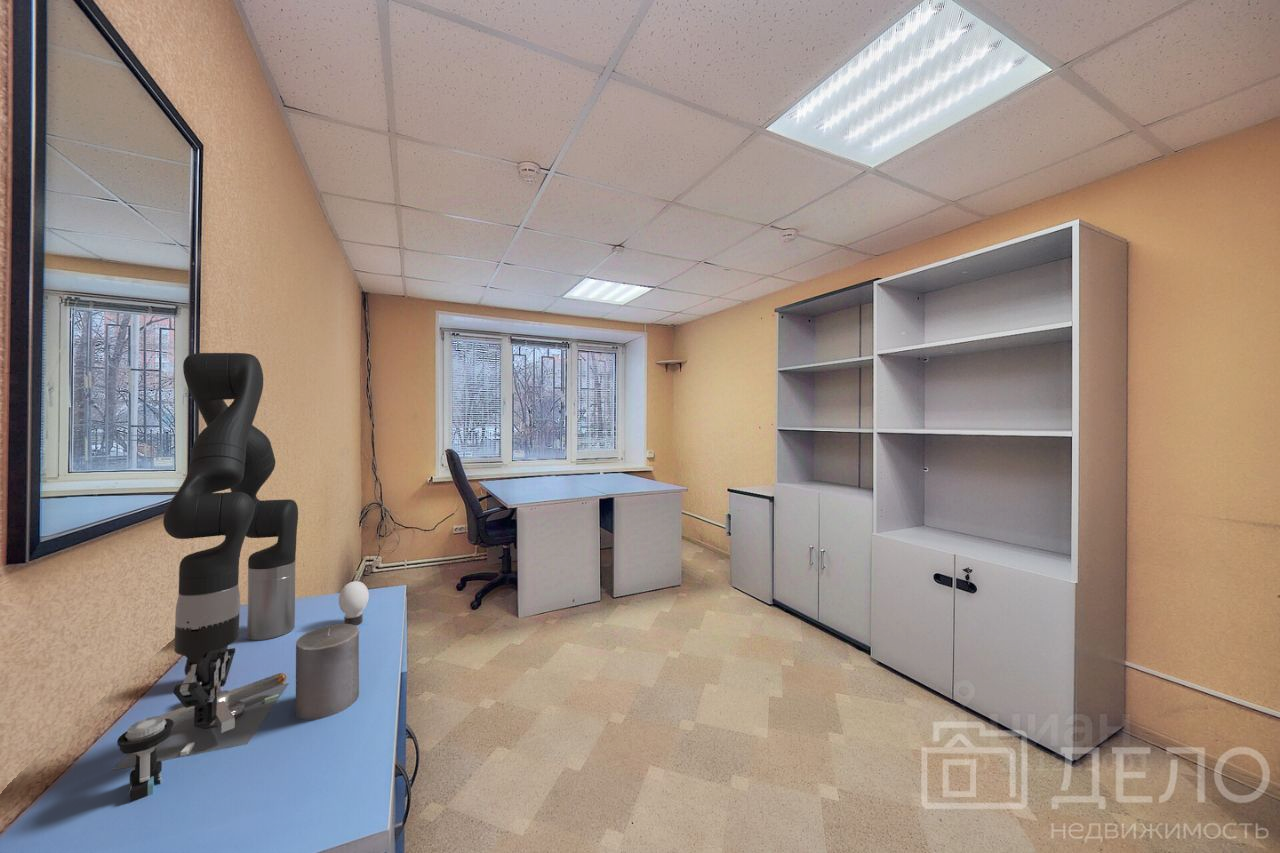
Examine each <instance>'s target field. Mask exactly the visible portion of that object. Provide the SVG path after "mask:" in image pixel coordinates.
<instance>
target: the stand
mask: <svg viewBox="0 0 1280 853" xmlns="http://www.w3.org/2000/svg"><path fill="white" fill-rule="evenodd" d="M289 684H290V682H288V683H287V682H286V683H283V684H282V685H280V686H277V687H274V688H271V689H269V690H266V691H263V692H261V693H258V694H255V695H253V696H250V697H247V698H245V699H242V700H239V701H241V702H244V704H245V711H244V713H243V714H242V715H241V716H240V717H239V718H237V719H236V720H235V728H233V729H230V730H228V731H225V732H223V733H221V732H220V730H219V728H218V727H215V728H210V729H202V728H199V727H195V726H194V717H193V718H191V719H188V720H185V721H183V722H180V723H177V724H175V725H173V727H172V728H171V734H170V736H169V737H168V738H167V739H165V740H164V741H163V742H162V743H161V744H159V745H157V746H156V747H155V748H156V755H157V762H158V761H161V762H163V761H167V760H172V759H177V758H178V759H179V758H183V757H188V756H194V755H199V754H203V753H209V752H214V751H218V750H219V751H220V750H224V749H225V750H226V749H229V748H234V747H239V746H243V745H244V746H245V745H248V744H249V742H250V741H251V739H252V738H253V737H254V735H255V734H256V732H257V731H258V729H259V728H260V727H261V725H262V723H263V722H264V721H265V719H266V718H267V717H268V715H269V714H270V712H271V710H272V709H273V707H275V705H276V703H277V702H278V701H279V699H280V697H281V696H282V694H283V693H284V692H285V691H286V689H287V687H288V686H289ZM183 707H184V705H183V704H182V703H181V702H180V704H179V705H178V706H177V707H176V708H175V709H174V710H177V709H180V708H183ZM136 755H137V754H127V755H126V757H125V758H124V759H123V760H122V761H120V762H119V764H118V765H116V766H115V767H114V768H113V771H116V770H120V769H121V770H122V769H127V768H132V767H135V765H136Z"/></svg>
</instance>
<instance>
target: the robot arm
mask: <svg viewBox="0 0 1280 853" xmlns="http://www.w3.org/2000/svg"><path fill="white" fill-rule="evenodd" d="M182 369H183V370H182V371H183V376H184V380H185V383H186V385H187V388H188V390H189V392H190V395H191V397H192V398H193V401H194V403H195V404H196V405H195V406H196V407H197V409H198V411H199V413H200V415H201V416H202V419H203V421H204V423H205V425H206V427H205V428H204V429H203V430H201V432H200V433H199V434H198V436H197V437H196V438H195V441H194V443H193V444H192V449H191V454H190V460H189V466H188V471H187V475H186V476H185V479H184V481H183V482H182V484H181V485H180V487H179V489H178V491H177V492H176V493H175V495H174V496H173V497H172V498H171V500H170V502H169V504H168V506H167V508H166V509H165V512H164V515H163V519H162V520H163V521H162V522H163V527H164V530H165V532H166V533H167V534H168V536H171V537H172V538H175V539H177V540H187V539H188V540H189V539H190V540H191V539H198V538H200V539H201V538H209V537H220V536H224V540H223V541H222V542H221V543H220V544H218V545H217V546H214V547H210V548H207V549H203V550H200V551H196V552H192V553H190V554H187V555H185V556H184V557H183V558H182V559H181V560H180V562H179V569H178V595H177V601H176V606H175V621H174V622H175V623H174V644H173V645H174V653H175V654H177V655H180V656H184V657H185V658H186V663H185V665H184V670H183V671H184V676H185V678H184V680H183V683H179V684H176V685H175V686H174V688H173V694H174V696H175V697H176V698H177V699H178V700H179V702H180V704H181V703H182V704H183V705H184V707H185V708H187V707H191V706H195V711H194V726H195V727H202V726H208V725H210V724H211V723H212V722H213V721H214V720H215V719H216V712H217V697H216V696H218V695H219V693H220V691H221V687H225V686H226V682H227V680H228V675H229V672H230V669H231V666H232V663H233V659H234V656H235V653H236V648H235V647H234V648H228V649H227V647H228V646H230V645H232V644H233V643H235V642H236V641H237V640H238V639H239V635H240V605H241V597H240V595H241V594H240V589H239V576H240V575H239V573H240V572H239V571H240V558H241V557H240V556H241V552H242V547H243V545H244V542H245V538H248V539H249V538H250V539H262V538H277V541H276V543H274V544H273V545H271V546H268V547H266V548H264V549H260V550H258V551H255V552H254V553H251V554H250V555H249V556H248V560H247V561H248V562H247V622H246V623H247V625H246V626H247V627H246V628H247V631H246V632H247V633H246V634H247V636H246V637H247V639H249V640H250V641H260V640H261V641H263V640H264V641H265V640H269V639H274V638H277V637H280V636H283V635H286V634H287V633H290V632H292V631H293V630H294V629H295V625H296V623H295V622H296V620H295V619H296V615H295V614H296V556H297V555H296V553H297V552H296V551H297V536H298V534H297V533H298V523H299V522H298V521H299V508H298V504H297V502H296V501H295V500H294V499H287V498H285V499H265V500H264V499H263V500H262V499H261V500H260V499H259V498H258V497H257V494H258V492H259V490H260V489H261V487H262V486H263V485H264V484H265V483H266V482H267V480H268V479H269V478H270V476H271V475H272V473H273V471H274V470H275V467H276V458H275V455H274V454H275V453H274V451H273V446H272V444H271V441H270V439H269V437H268V436H267V435H266V434H265V433H264V432H263V431H261V429H259V428H257V427H256V426H255V425H253V423H254V420H255V418H256V414H257V410H258V407H259V404H260V401H261V397H262V394H263V389H264V373H263V368H262V365H261V362H260V360H259V359H258V358H257V357H256V356H255V355H254V354H251V353H246V352H199V353H191V354H189V355H187V356H186V357H185V359H184V361H183V365H182ZM225 400H233V401H232V402H231V403H230V405H229V406H228V404H227V403H226V401H225ZM229 489H230V492H229V491H226V492H221V491H225V490H229Z"/></svg>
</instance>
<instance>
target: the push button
mask: <svg viewBox="0 0 1280 853" xmlns="http://www.w3.org/2000/svg"><path fill="white" fill-rule="evenodd" d="M172 727H173V720H171V719H165V718H164V717H163V716H160V715H156V716H151V717H150V716H149V717H147V718H144V719H141V720H139V721H136V722H135V723H134V724H132V725H130V726H129V727H128V729H127V731H125V732H124V733H122V734H121V735H120V736H119V737H118V739H117V742H116V744H117V746H118V747H119V750H120V751H121V753H123V754H126V755H129V754H137V755H136V765H135V766H134V769H132V770H131V771H130V772H129V784H130V786H129V794H128V796H130V803H133V802H136V801H138V800H141V799H143V798H146V797H149V796H151V795H154V789H155V784H156V783H157V782H159V784H160V785H161V784H162V774H161V772H162V771H163V770H162V769H163V768H162V764H163V763H162V762H163V761H158V762H157V755H156V748H155V747H156V746H157V745H159V744H161V743H162V742H163V741H164V740H165V739H167V738H168V737H169V736H170V734H171V728H172Z"/></svg>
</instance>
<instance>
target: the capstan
mask: <svg viewBox="0 0 1280 853" xmlns="http://www.w3.org/2000/svg"><path fill="white" fill-rule="evenodd" d="M287 679H288V676H287V675H286V674H285V673H283V672H280V673H276V674H274V675H271V676H269V677H266V678H262V679H259V680H256V681H253V682H250V683H248V684H245V685H243V686H240V687H237V688H235V689H231V690H226V689H225V690H224V689H222V690H220V693H219V695H218V696H216V697H217V712H216V719H215V720H214V721H213V722H212V723H211V724H210V725H208V726H202V727H199V728H202V729H210V728H215V727H218V728H219V730H220V732H221V733H223V732H225V731H228V730H230V729H233V728H235V720H236V719H237V718H239V717H240V716H241V715H242V714H243V713H244V711H245V704H244V702H241V701H239V700H242V699H245V698H247V697H250V696H253V695H255V694H258V693H261V692H263V691H266V690H269V689H271V688H274V687H277V686H280V685H282V684H285V682H286V681H287ZM194 711H195V706H191V707H187V708H185V707H183V708H180V709H177V710H175V709H174V710H172V711H169V712H166V713H163V714H160V715H159V716H163V717H164V718H165V719H171V720H173V725H175V724H177V723H180V722H183V721H185V720H188V719H191V718H193V717H194Z"/></svg>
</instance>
